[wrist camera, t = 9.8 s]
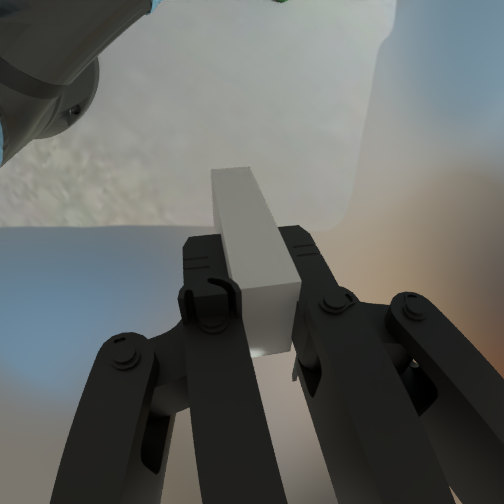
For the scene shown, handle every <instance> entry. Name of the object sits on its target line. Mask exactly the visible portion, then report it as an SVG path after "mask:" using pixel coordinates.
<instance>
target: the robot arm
mask: <svg viewBox="0 0 504 504" xmlns="http://www.w3.org/2000/svg"><path fill="white" fill-rule="evenodd" d="M162 1H163V0H0V168H1V167H2V166H3V165H4V164H5V163H6V162H7V161H8V160H10V159H11V158H12V157H13V156H14V155H15V154H16V153H17V152H19V151H20V150H21V149H22V148H23V147H24V146H26V145H27V144H28V143H29V142H30V141H32V140H33V139H44V138H49V137H52V136H55V135H57V134H59V133H61V132H63V131H65V130H66V129H68V128H69V127H70V126H72V125H73V124H74V123H75V122H76V121H77V120H79V119H80V118H81V117H82V115H83V114H84V113H85V112H86V110H87V109H88V108H89V106H90V104H91V102H92V100H93V98H94V96H95V93H96V90H97V87H98V81H99V62H98V57H97V56H98V55H99V54H100V53H101V52H102V51H103V50H104V49H105V48H106V47H107V46H109V45H110V44H111V43H112V42H113V41H114V40H115V39H116V38H117V37H118V36H120V35H121V34H122V33H123V32H124V31H125V30H126V29H128V28H129V27H130V26H131V25H132V24H133V23H135V22H136V21H137V20H138V19H140V18H141V17H142V16H143V15H149V14H150V13H152V12H153V11H154V9H155V8H156V7H157V5H158V4H159V3H160V2H162ZM211 182H212V200H213V216H214V230H215V234H213V235H204V236H193V237H189V238H188V239H187V241H186V243H185V245H184V246H183V276H184V286H183V287H182V288H181V289H180V291H179V295H178V303H179V308H180V313H181V317H182V319H181V320H180V322H179V323H178V324H177V325H176V326H175V327H174V328H172V329H171V330H170V331H168V332H166V333H164V334H161V335H159V336H156V337H153V338H151V339H147V338H146V337H144V336H143V335H140V334H137V333H134V332H129V333H121V334H118V335H115V336H112V337H111V338H110V339H108V340H107V341H106V342H105V343H104V344H103V345H102V347H101V348H100V350H99V352H98V354H97V356H96V359H95V361H94V364H93V367H92V369H91V372H90V374H89V377H88V380H87V383H86V385H85V388H84V391H83V393H82V396H81V399H80V402H79V405H78V408H77V411H76V414H75V417H74V420H73V423H72V426H71V429H70V432H69V436H68V438H67V442H66V445H65V449H64V452H63V455H62V458H61V462H60V466H59V469H58V473H57V477H56V480H55V484H54V488H53V492H52V496H51V501H50V504H160V502H161V495H162V489H163V483H164V477H165V471H166V465H167V460H168V454H169V448H170V443H171V438H172V432H173V427H174V422H175V416H176V413H177V412H179V411H182V410H184V409H187V408H189V407H190V414H191V423H192V432H193V440H194V448H195V456H196V463H197V470H198V477H199V484H200V490H201V497H202V503H203V504H288V503H287V499H286V496H285V492H284V488H283V484H282V481H281V476H280V473H279V469H278V465H277V461H276V457H275V453H274V449H273V445H272V441H271V437H270V433H269V429H268V425H267V421H266V417H265V413H264V409H263V405H262V401H261V396H260V392H259V388H258V384H257V379H256V375H255V371H254V367H253V363H252V358H251V357H258V356H264V355H271V354H277V353H283V352H288V351H290V350H291V344H292V341H293V344H294V347H295V350H296V353H297V354H296V359H295V364H294V368H293V373H292V379H293V381H296V380H297V376H298V377H299V380H300V383H301V387H302V390H303V392H304V396H305V399H306V402H307V405H308V408H309V412H310V415H311V418H312V421H313V424H314V427H315V431H316V434H317V437H318V440H319V443H320V446H321V450H322V453H323V456H324V459H325V462H326V466H327V469H328V472H329V475H330V478H331V481H332V485H333V488H334V491H335V494H336V498H337V501H338V504H456V503H455V501H454V498H453V495H452V493H451V490H450V488H449V486H450V487H451V489H452V490H453V492H454V493H455V494H456V496H457V497H458V498H459V500H460V501H461V502H462V504H504V379H503V378H502V377H501V375H500V374H499V373H498V372H497V371H496V370H495V369H494V367H493V366H492V365H491V364H490V363H489V362H488V361H487V360H486V359H485V357H484V356H483V355H482V354H481V353H480V352H479V351H478V350H477V349H476V348H475V347H474V346H473V344H472V343H471V342H470V341H469V340H468V339H467V338H466V337H465V336H464V335H463V334H462V333H461V332H460V331H459V330H458V329H457V328H456V327H455V326H454V325H453V324H452V323H451V322H450V321H449V319H447V317H445V316H444V315H443V313H442V312H440V310H439V309H438V308H437V307H436V306H435V305H433V304H432V303H431V302H430V301H429V300H428V299H427V298H425V297H424V296H422V295H419V294H417V293H414V292H402V293H398V294H397V295H396V296H394V297H393V299H392V301H391V304H390V305H384V304H372V303H365V302H360V301H359V299H358V298H357V297H356V296H355V295H354V294H353V292H351V291H349V290H348V289H346V288H344V287H340V286H339V285H338V283H337V282H336V280H335V278H334V276H333V274H332V272H331V271H330V269H329V267H328V265H327V263H326V262H325V260H324V258H323V256H322V255H321V254H320V251H319V249H318V248H317V246H316V244H315V242H314V240H313V238H312V237H311V235H310V233H308V232H307V231H306V230H304V229H303V228H302V227H300V226H299V225H295V226H284V227H277V225H276V223H275V221H274V219H273V216H272V214H271V212H270V210H269V208H268V205H267V203H266V201H265V199H264V197H263V195H262V193H261V190H260V188H259V186H258V184H257V182H256V180H255V178H254V175H253V173H252V171H251V169H250V167H239V168H225V169H213V170H211ZM413 359H414V360H415V361H416V362H417V363H415V362H414V361H413Z"/></svg>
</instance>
